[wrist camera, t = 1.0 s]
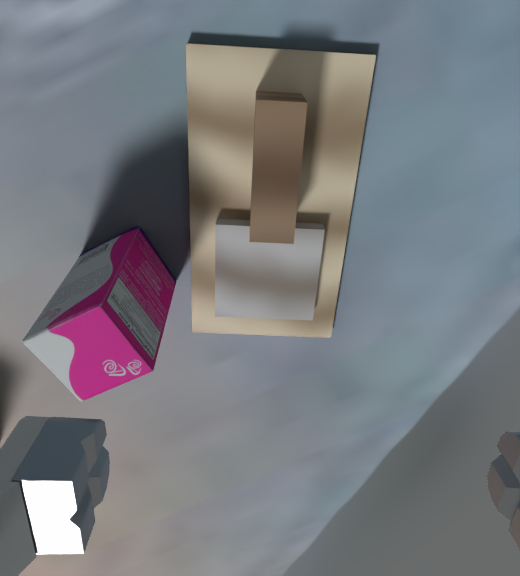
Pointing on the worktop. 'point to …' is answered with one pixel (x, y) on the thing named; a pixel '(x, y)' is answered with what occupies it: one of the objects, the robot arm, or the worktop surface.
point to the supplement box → (105, 316)
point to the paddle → (271, 225)
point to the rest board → (239, 160)
